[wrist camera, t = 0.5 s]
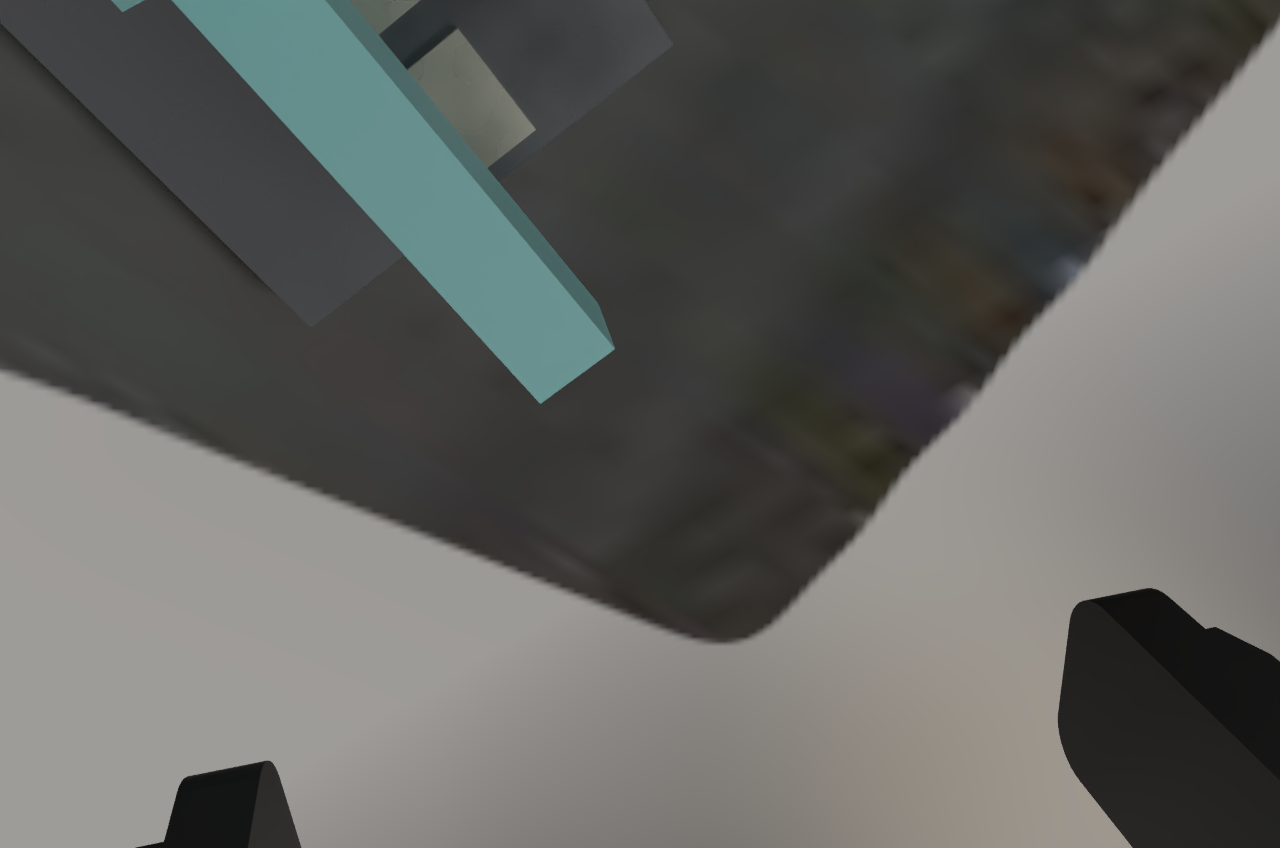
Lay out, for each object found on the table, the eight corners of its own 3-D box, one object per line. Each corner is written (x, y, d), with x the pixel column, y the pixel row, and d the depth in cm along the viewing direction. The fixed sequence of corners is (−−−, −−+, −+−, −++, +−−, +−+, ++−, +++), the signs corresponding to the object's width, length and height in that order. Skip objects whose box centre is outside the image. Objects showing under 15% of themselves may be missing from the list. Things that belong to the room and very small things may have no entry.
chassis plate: (337, -457, 22) (276, -656, 13) (662, 35, 27) (769, 122, 19) (-69, -78, 23) (-359, -34, 15) (316, 307, 29) (269, 500, 21)
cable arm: (97, -406, 17) (-32, -504, 12) (633, 278, 24) (683, 384, 19) (-76, -239, 17) (-265, -270, 13) (497, 379, 25) (513, 506, 20)
